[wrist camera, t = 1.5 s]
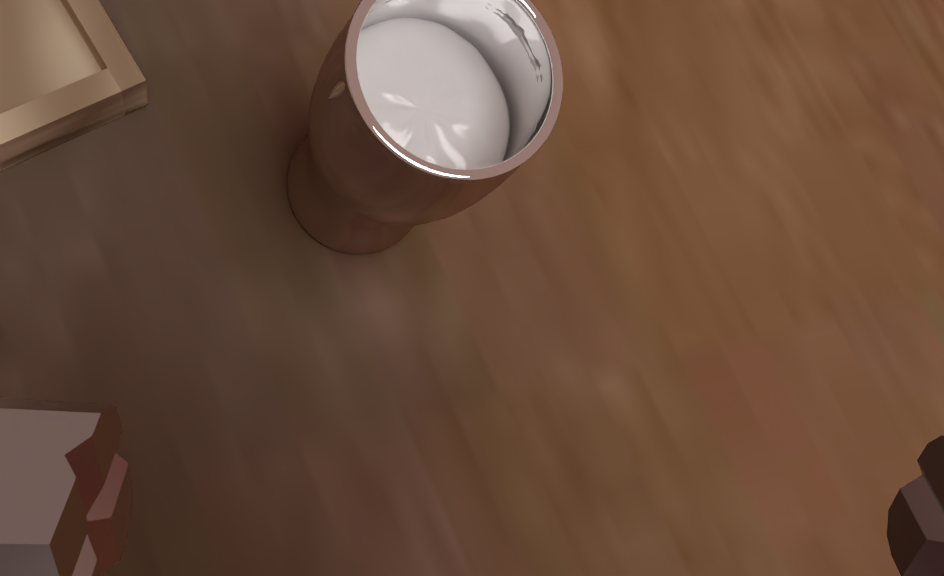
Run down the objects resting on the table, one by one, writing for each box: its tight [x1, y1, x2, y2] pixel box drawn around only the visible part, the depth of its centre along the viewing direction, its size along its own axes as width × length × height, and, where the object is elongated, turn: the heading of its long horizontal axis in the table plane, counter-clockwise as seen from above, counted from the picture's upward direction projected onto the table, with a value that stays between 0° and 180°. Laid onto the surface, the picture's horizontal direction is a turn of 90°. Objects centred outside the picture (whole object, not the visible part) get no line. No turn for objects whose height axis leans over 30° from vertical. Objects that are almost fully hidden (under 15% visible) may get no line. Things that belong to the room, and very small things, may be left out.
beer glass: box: [287, 0, 563, 254], centre depth 33 cm, size 7×7×15 cm
